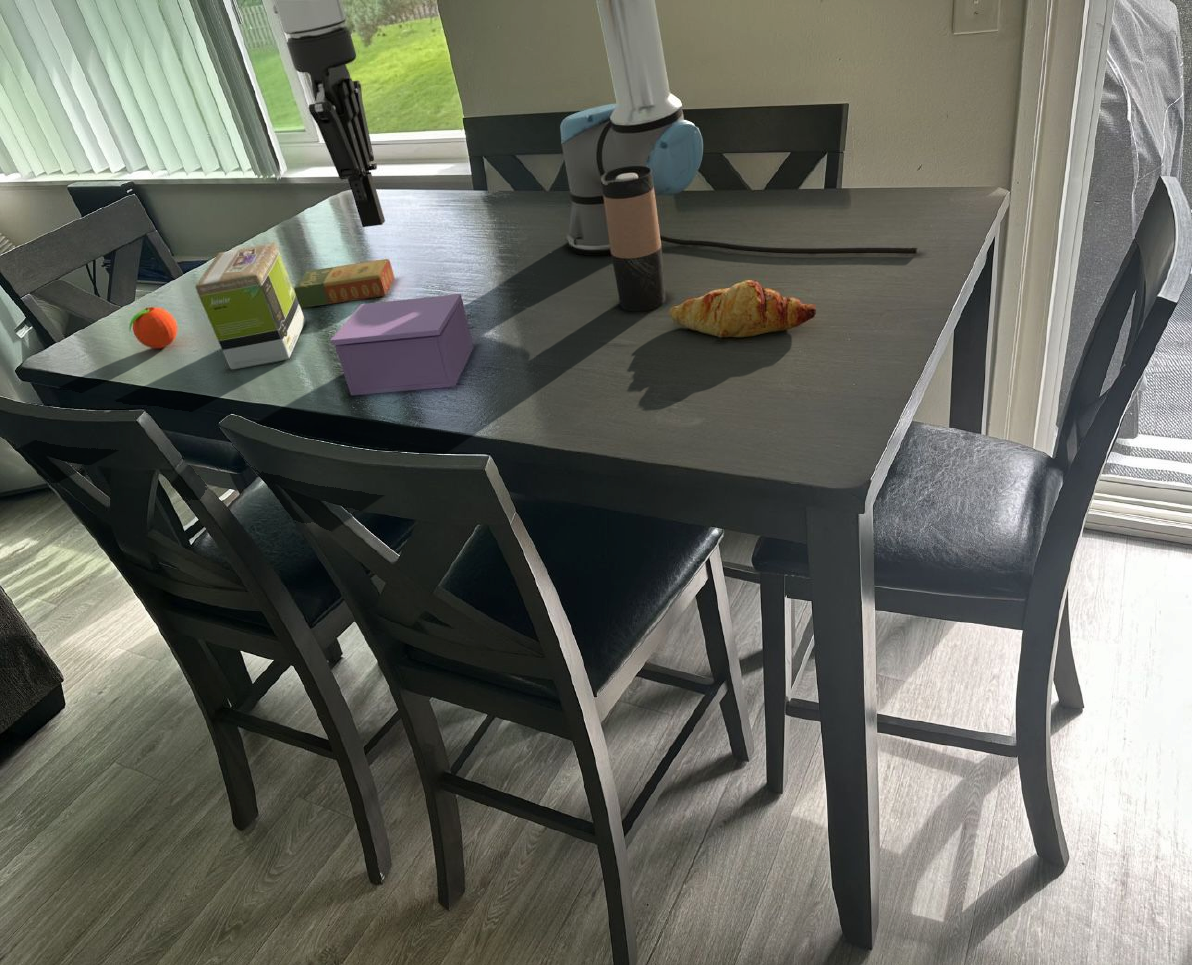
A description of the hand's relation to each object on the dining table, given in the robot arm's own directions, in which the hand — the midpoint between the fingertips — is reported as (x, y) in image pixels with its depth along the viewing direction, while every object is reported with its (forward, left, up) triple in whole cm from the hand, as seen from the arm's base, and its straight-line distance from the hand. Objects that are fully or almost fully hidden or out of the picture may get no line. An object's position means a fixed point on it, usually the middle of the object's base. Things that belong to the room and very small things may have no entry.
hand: (373, 223), depth 123 cm
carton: (+23, -36, -23) cm, 48 cm away
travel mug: (-32, -19, -23) cm, 44 cm away
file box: (+1, -2, -23) cm, 23 cm away
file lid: (+1, -1, -15) cm, 15 cm away
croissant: (-47, -7, -23) cm, 53 cm away
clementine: (+52, -20, -23) cm, 60 cm away
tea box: (+30, -16, -23) cm, 41 cm away
